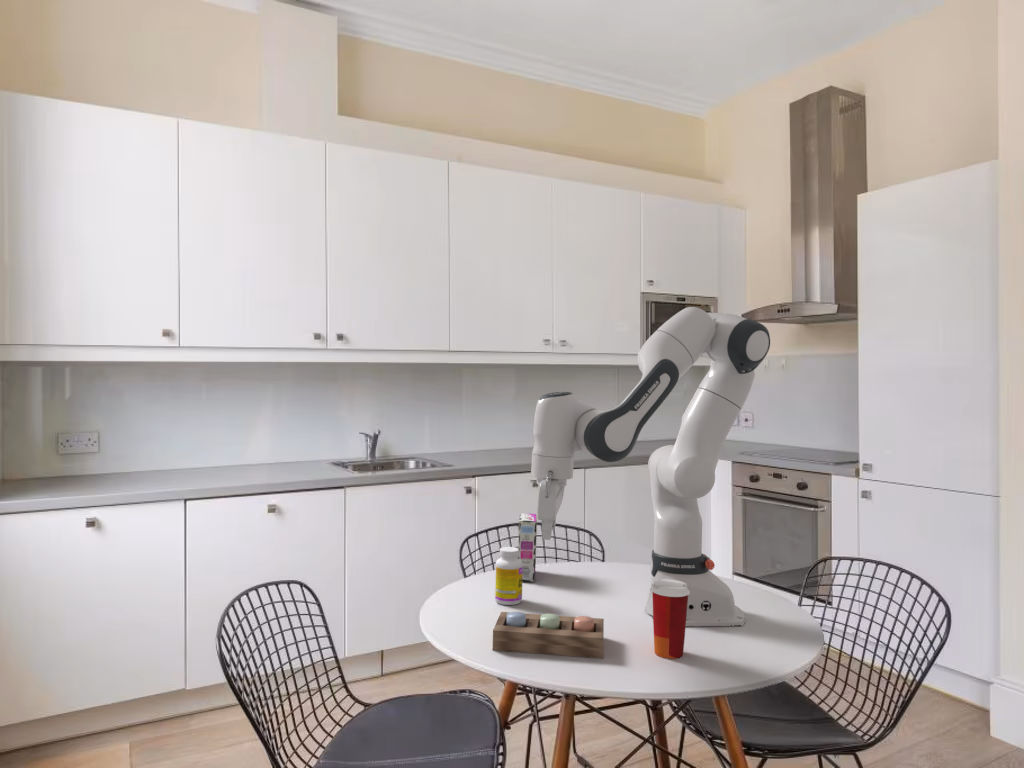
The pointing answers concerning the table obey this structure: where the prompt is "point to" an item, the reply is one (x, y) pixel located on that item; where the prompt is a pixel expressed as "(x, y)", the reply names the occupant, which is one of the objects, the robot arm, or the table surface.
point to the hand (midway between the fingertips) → (548, 534)
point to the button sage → (549, 621)
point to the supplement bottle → (508, 577)
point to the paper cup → (669, 617)
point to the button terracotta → (584, 624)
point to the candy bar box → (527, 545)
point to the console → (549, 637)
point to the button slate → (516, 619)
